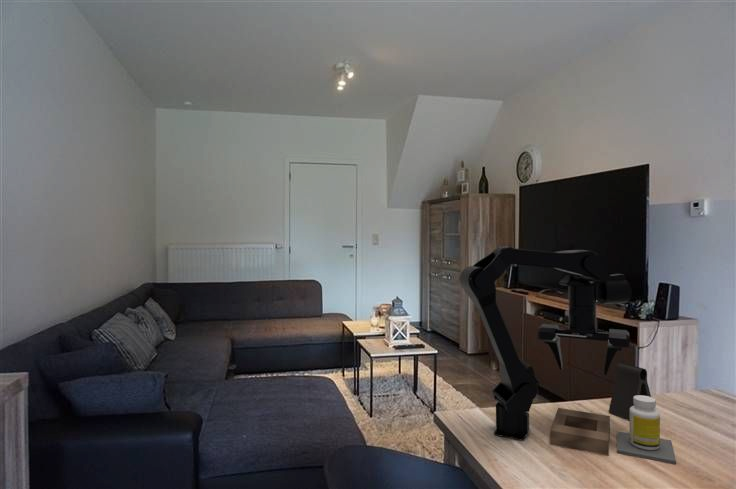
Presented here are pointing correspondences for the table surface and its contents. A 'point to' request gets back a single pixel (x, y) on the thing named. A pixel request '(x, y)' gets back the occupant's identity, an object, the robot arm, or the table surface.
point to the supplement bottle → (644, 423)
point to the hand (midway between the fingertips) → (582, 372)
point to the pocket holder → (581, 431)
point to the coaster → (660, 454)
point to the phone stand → (627, 389)
